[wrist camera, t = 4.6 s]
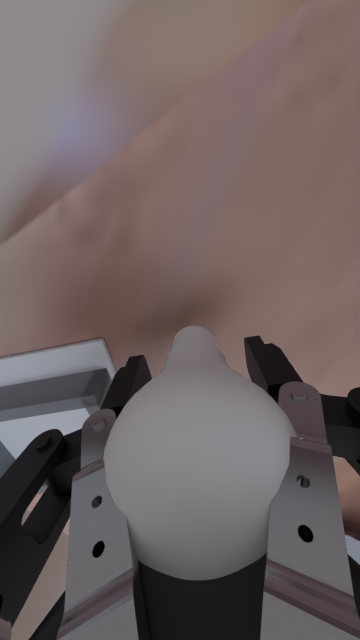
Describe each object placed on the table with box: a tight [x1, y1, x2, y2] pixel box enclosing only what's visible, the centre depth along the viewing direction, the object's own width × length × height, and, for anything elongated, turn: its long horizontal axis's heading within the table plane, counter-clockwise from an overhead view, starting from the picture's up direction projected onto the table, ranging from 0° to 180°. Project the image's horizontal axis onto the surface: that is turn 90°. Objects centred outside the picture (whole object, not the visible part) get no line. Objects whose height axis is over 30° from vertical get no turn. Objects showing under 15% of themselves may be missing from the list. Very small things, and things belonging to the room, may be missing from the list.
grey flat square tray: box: [0, 338, 117, 494], centre depth 20 cm, size 15×15×3 cm
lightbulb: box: [103, 326, 297, 580], centre depth 9 cm, size 6×6×11 cm
